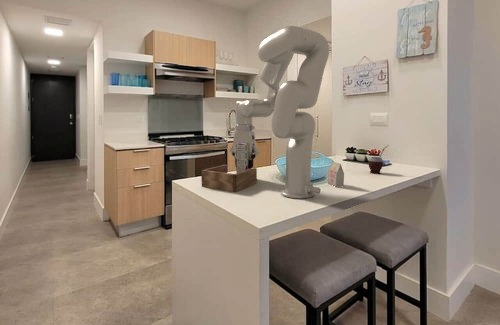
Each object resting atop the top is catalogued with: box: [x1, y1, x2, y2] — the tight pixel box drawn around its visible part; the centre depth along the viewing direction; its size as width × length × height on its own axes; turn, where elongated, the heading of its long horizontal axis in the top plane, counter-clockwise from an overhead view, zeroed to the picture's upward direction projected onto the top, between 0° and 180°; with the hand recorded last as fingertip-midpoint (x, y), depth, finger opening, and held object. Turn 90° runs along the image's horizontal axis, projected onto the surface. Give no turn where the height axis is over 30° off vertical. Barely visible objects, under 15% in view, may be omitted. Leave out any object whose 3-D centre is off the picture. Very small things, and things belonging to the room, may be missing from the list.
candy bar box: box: [235, 143, 252, 174], centre depth 142 cm, size 11×5×16 cm, turn 167°
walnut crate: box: [200, 164, 258, 193], centre depth 133 cm, size 17×17×7 cm
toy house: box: [327, 161, 345, 188], centre depth 133 cm, size 4×7×10 cm, turn 15°
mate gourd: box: [367, 144, 390, 175], centre depth 159 cm, size 8×8×15 cm
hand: (244, 167), depth 142 cm, fingers closed on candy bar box, 6 cm apart
